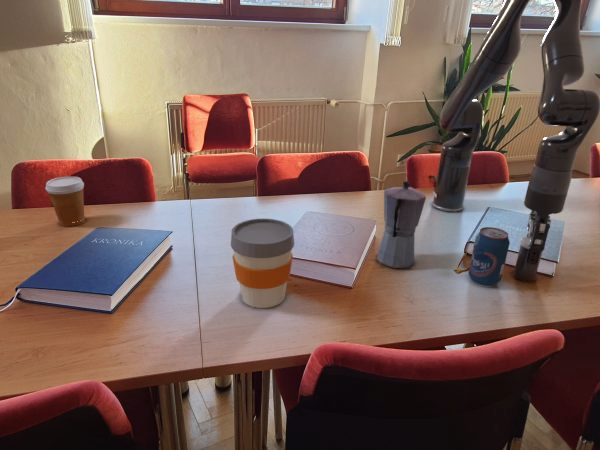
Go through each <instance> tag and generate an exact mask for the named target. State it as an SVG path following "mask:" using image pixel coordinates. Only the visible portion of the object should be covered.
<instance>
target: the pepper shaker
mask: <svg viewBox="0 0 600 450" xmlns="http://www.w3.org/2000/svg"><path fill="white" fill-rule="evenodd" d="M529 244H530V238H529V237H527V236H524V237H522V238H521V239H520V244H519V245H520V246H519V249H518V254H517V256H516V257H517V258H516V261H515V265H514V269H513V273H512V275H513V277H514V278H516V279H517V280H519V281H522V282H534V281H535V280H536V278H537V274H538V270H539V266H540V263H541V259H542V256H543V252H544V250H543V251H541V252H540V255H539V259H538V263H537V265H531V264H527V263H526V258H527V254H528V250H529ZM535 244H540V240H538V239H536V240H535ZM545 246H546V245H545ZM545 246H544V247H545Z"/></svg>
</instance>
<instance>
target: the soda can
mask: <svg viewBox="0 0 600 450" xmlns="http://www.w3.org/2000/svg"><path fill="white" fill-rule="evenodd" d="M510 245H511V242H510V239H509V233H508V232H507V231H506V230H504V229H501V228H498V227H494V226H493V227H492V226H484V227H481V228H480V230H479V232H478V233H477V234H476V236H475V239H474V244H473V249H472V252H471V257H470V263H469V267H468V276H469V278H470V280H471V281H472V283H473V284H476V285H477V286H480V287H483V288H484V287H485V288H492V287H495V286H496V285H498V284H499V283H500V282H501V281H502V277H503V274H504V269H505V265H506V261H507V257H508V254H509V253H508V252H509V247H510Z"/></svg>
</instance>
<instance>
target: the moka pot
mask: <svg viewBox="0 0 600 450" xmlns="http://www.w3.org/2000/svg"><path fill="white" fill-rule="evenodd" d="M402 183H403V184H402V185H403V187H401V186H400V187H397V186H393V187H390V188H386V189H384V190H383V200H384V201H383V209H384V210H383V220H384V232H383V235H382V238H381V240H380V241H381V242H380V245H379V248H378V253H377V256H376V260H377V261H378V262H379V263H380V264H382V265H384V266H387V267H389V268H394V269H406V268H410V267H412V266H414V262H415V233H416V228H417V227H418V226H419V223H420V219H421V216H422V212H423V210H424V206H425V203H426V199H427V196H426V195H425V194H424V193H423V191H420V190H417V189H414V187H411V186H410V184H411V182H409V181H407V180H405V181H403V182H402Z"/></svg>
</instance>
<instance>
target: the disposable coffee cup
mask: <svg viewBox="0 0 600 450" xmlns="http://www.w3.org/2000/svg"><path fill="white" fill-rule="evenodd" d="M84 187H85V182H84V181H83V179H82V178H81V177H78V176H61V177H56V178H52V179H50V180H48V181H47V182H46V183H45V187H44V189H45V191H46V192H47V193H48V195H49V198H50V201H51V204H52V207H53V210H54V212H55V215H56V217H57V220H58V222H59V221H60V222H59V225H60V226H62V227H75V226H79V225H81V224H83V223H85V220H86V219H85V203H84V202H85V200H84V197H85V196H84ZM83 218H84V219H83ZM82 219H83V220H82ZM80 220H81V221H80ZM77 221H78V222H77ZM61 222H62V223H61ZM72 222H75V223H72Z"/></svg>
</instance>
